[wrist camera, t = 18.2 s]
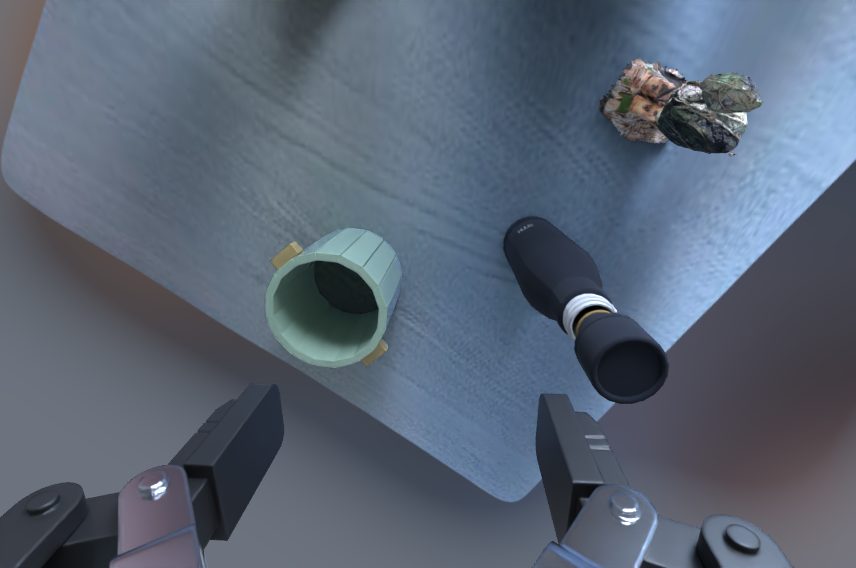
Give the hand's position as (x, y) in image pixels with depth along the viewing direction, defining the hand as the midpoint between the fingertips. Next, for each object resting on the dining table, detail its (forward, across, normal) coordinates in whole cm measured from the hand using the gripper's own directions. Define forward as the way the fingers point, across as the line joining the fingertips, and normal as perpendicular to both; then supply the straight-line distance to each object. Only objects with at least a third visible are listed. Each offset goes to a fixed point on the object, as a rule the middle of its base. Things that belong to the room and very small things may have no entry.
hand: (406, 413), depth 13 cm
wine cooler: (+38, +11, +8) cm, 41 cm away
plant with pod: (+39, -22, -11) cm, 46 cm away
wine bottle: (+39, -10, +4) cm, 40 cm away
